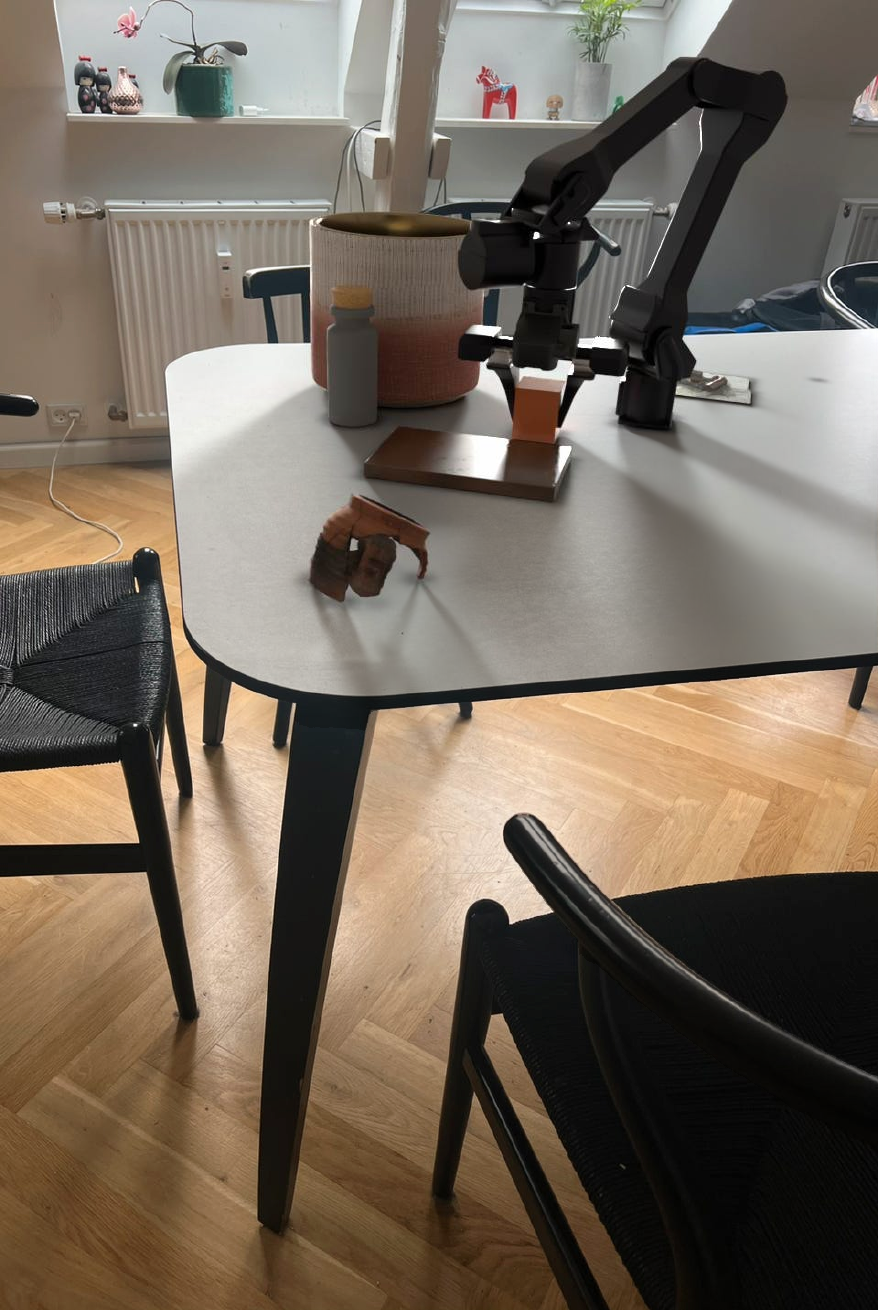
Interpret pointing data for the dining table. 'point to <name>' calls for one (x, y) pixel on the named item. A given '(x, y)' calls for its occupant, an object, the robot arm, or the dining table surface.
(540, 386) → the terracotta block
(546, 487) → the board
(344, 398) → the bottle
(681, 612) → the dining table surface
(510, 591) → the dining table surface
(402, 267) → the planter
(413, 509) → the dining table surface
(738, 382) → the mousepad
